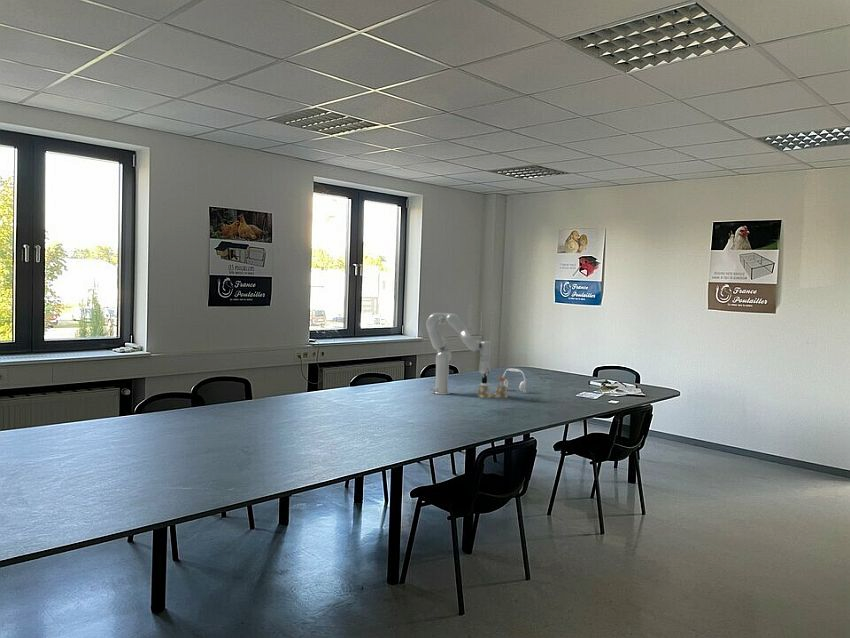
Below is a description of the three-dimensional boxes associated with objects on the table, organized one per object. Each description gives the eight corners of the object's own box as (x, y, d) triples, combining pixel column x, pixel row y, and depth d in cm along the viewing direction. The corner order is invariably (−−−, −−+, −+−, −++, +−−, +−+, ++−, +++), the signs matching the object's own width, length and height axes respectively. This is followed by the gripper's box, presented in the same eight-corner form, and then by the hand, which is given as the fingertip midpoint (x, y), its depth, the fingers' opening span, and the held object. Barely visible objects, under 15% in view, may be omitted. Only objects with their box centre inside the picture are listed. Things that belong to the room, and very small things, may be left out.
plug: (481, 394, 461) (482, 383, 460) (478, 393, 466) (479, 382, 465) (488, 394, 462) (488, 383, 462) (485, 393, 467) (486, 382, 467)
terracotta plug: (499, 388, 465) (500, 378, 464) (496, 387, 470) (497, 377, 469) (506, 388, 466) (506, 378, 466) (503, 387, 471) (503, 377, 471)
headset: (499, 390, 496) (501, 367, 495) (504, 389, 502) (505, 367, 501) (522, 393, 484) (523, 370, 483) (527, 392, 490) (528, 369, 489)
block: (482, 398, 459) (482, 387, 458) (477, 395, 468) (477, 385, 468) (507, 397, 464) (508, 387, 464) (502, 395, 474) (502, 385, 473)
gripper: (476, 356, 469) (475, 381, 470) (484, 359, 454) (483, 384, 455) (486, 356, 471) (485, 381, 472) (494, 359, 457) (493, 384, 457)
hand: (484, 383), depth 464 cm, fingers closed
